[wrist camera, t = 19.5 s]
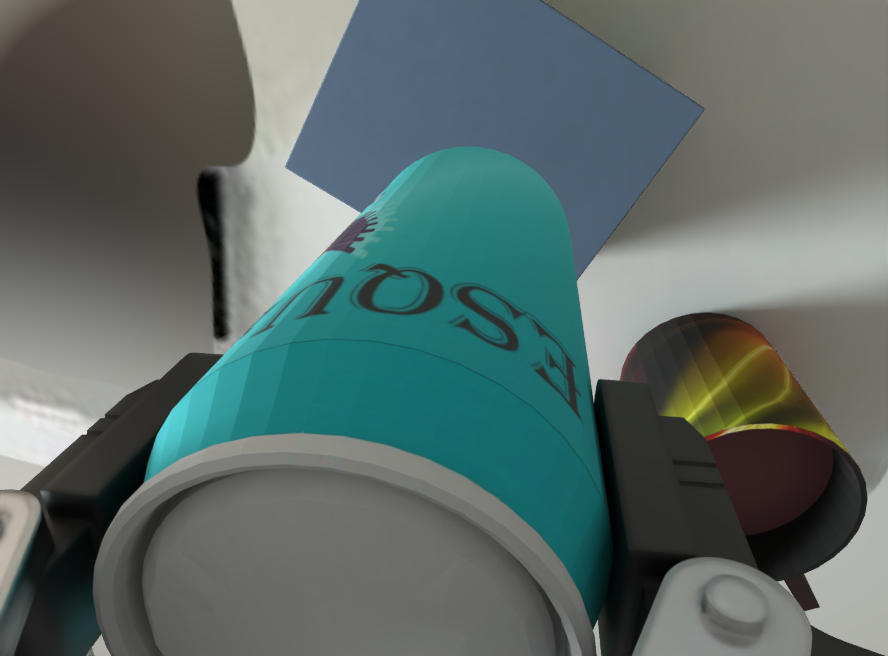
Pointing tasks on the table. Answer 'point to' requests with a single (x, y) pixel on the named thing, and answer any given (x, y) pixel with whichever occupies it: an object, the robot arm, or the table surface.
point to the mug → (757, 441)
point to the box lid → (491, 106)
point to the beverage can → (385, 449)
